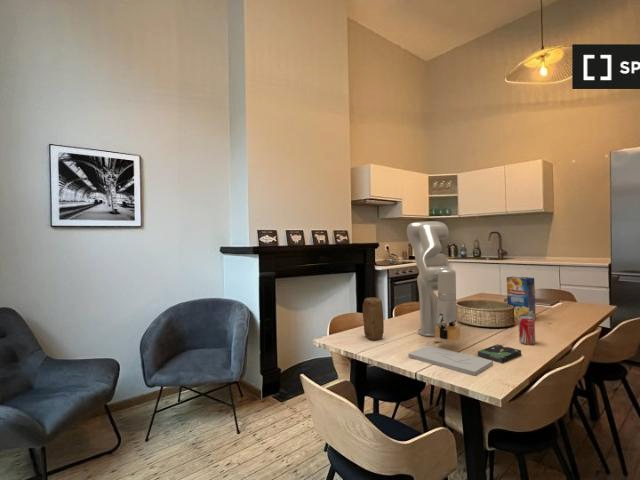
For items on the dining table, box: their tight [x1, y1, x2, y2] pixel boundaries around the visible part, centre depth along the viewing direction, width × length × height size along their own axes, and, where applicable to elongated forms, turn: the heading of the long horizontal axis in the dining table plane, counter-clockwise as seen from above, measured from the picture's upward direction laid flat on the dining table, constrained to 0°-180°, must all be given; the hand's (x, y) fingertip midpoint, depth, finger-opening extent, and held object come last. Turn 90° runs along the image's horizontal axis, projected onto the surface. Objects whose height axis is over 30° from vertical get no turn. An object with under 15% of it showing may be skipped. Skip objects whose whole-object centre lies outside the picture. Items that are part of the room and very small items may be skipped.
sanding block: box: [435, 324, 461, 343], centre depth 152 cm, size 6×9×5 cm, turn 51°
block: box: [362, 296, 385, 341], centre depth 172 cm, size 11×8×20 cm
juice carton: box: [506, 275, 537, 321], centre depth 199 cm, size 12×8×24 cm, turn 30°
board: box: [407, 344, 494, 377], centre depth 137 cm, size 15×28×2 cm, turn 41°
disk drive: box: [477, 344, 522, 364], centre depth 141 cm, size 10×3×15 cm
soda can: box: [518, 316, 536, 346], centre depth 155 cm, size 6×6×12 cm
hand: (447, 336), depth 152 cm, fingers closed on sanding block, 6 cm apart
